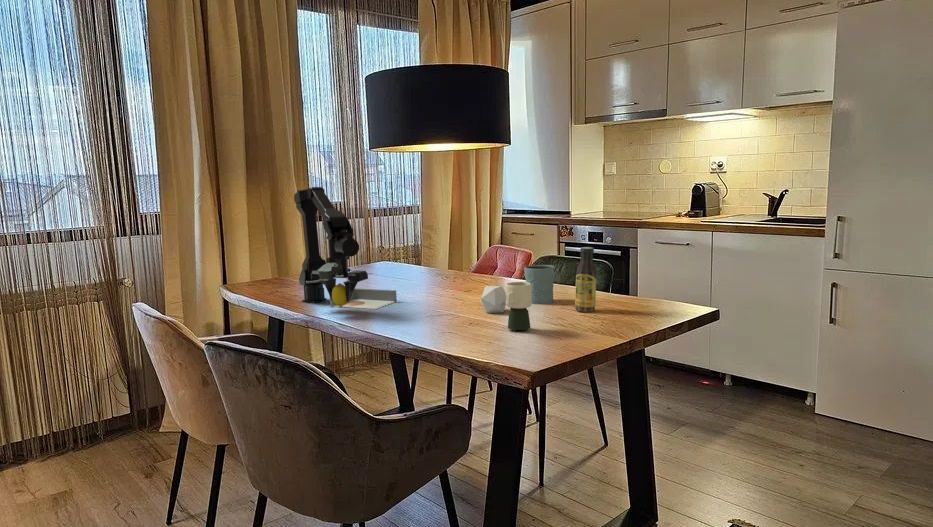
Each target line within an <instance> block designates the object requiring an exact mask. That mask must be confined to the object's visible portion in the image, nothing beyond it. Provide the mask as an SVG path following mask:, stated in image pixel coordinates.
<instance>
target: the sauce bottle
mask: <svg viewBox="0 0 933 527" xmlns="http://www.w3.org/2000/svg"><path fill="white" fill-rule="evenodd" d="M594 251H595V248H594V247H592V246H590V247H589V246H583V247H580V251H579V252H580V262H579V264H578V266H577V268H576V275H575V293H574V294H575V298H574V305H575V308H574V309H575V311H577V312H580V313H592V312H594V311H595V310H596V309H595V308H596V298H597V297H596V296H597V268H596V266H595V264H594Z"/></svg>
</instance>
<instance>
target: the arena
mask: <svg viewBox="0 0 933 527" xmlns="http://www.w3.org/2000/svg"><path fill="white" fill-rule="evenodd" d="M397 300H398V299H397V290H395V289H381V288H380V289H379V288H377V289H376V288H361V287H360V288H357V287H355V289H354V291H353V294H352V296H351V299H350V301H349V302H347V303H346V304H344V305H343V306H342V307H350V308H349V309H357V308H367V309H366V310H372V309H376V310H378V309H377V308H379V309H380V307H381V308H383V307H382V306H384V307H386V306H389V305H392V304H394V303H396V301H397ZM391 303H392V304H391ZM388 304H389V305H388ZM385 305H386V306H385ZM330 306H331V307H330ZM329 307H330V308H340V307H339V306H338V305H336V304H335V303H334V302H333V301H332V300H331V297H330V296H329ZM342 307H341V308H342Z"/></svg>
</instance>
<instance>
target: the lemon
mask: <svg viewBox="0 0 933 527" xmlns="http://www.w3.org/2000/svg"><path fill="white" fill-rule="evenodd" d="M332 300H333V302H334V303H335V304H336V305H338V306H339V307H338V308H342V306H343V305H344V304H346V303H347V299H346V286H345V285H344V284H342V283H340V282H339V283H338V284H336V286H335V287H334V288H333V290H332Z"/></svg>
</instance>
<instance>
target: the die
mask: <svg viewBox="0 0 933 527" xmlns="http://www.w3.org/2000/svg"><path fill="white" fill-rule="evenodd" d="M480 297H481V298H480V303H481V305H482V307H483V309H484V311H485V313H486V314H499V313H504V311H505V309H506V307H507V305H506V299H507V297H506V292H505V289H504V287H503V286H502V285H496V286H495V285H493V286H491V285H489V286H486V285H485V286H484V290H483V292H482V294H481V296H480Z"/></svg>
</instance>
